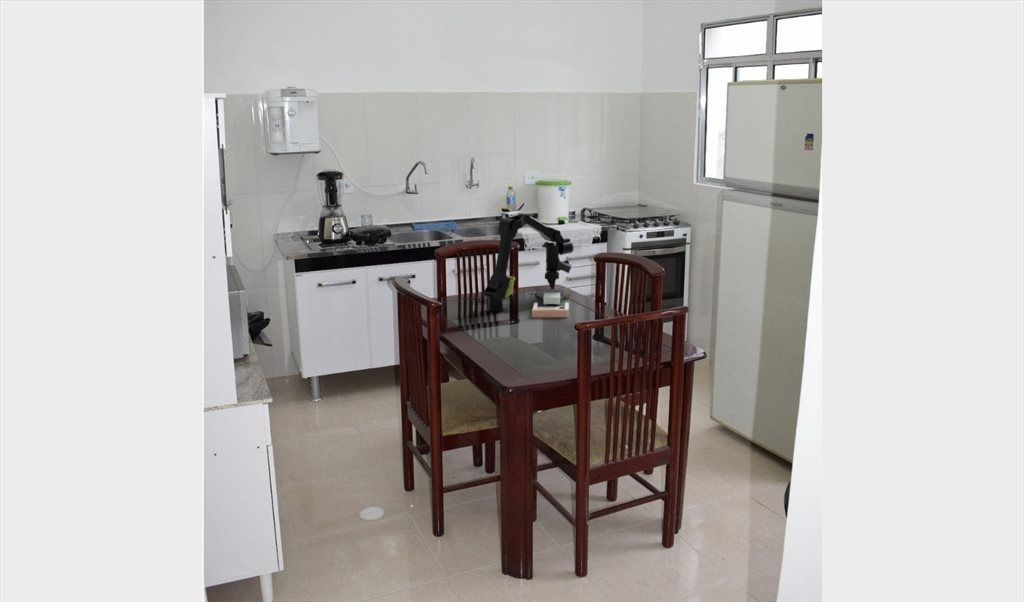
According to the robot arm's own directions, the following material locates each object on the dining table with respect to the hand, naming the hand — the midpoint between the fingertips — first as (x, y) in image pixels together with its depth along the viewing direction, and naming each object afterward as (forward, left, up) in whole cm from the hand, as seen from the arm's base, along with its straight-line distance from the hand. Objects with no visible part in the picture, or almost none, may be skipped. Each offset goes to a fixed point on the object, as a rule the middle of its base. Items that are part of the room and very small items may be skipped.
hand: (552, 289), depth 357 cm
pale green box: (+8, -7, -3) cm, 11 cm away
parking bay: (+17, -17, -3) cm, 24 cm away
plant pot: (-16, -15, -4) cm, 22 cm away
